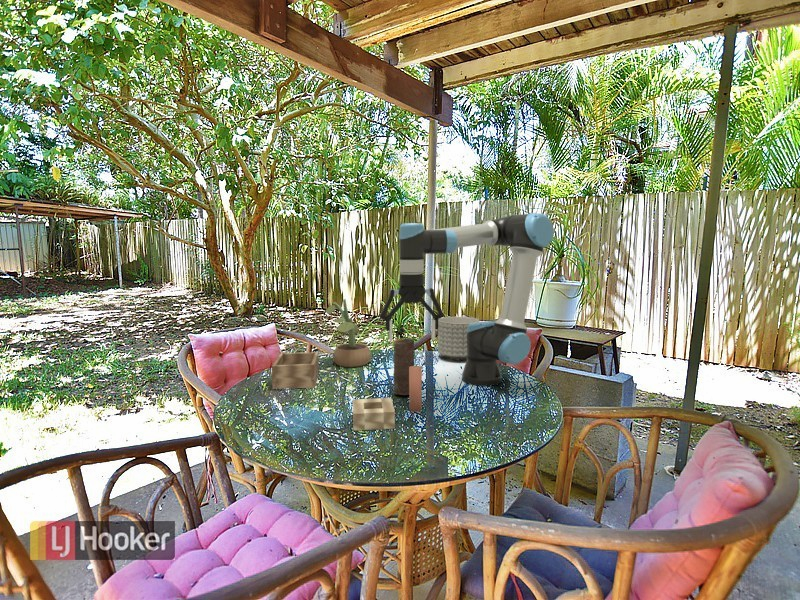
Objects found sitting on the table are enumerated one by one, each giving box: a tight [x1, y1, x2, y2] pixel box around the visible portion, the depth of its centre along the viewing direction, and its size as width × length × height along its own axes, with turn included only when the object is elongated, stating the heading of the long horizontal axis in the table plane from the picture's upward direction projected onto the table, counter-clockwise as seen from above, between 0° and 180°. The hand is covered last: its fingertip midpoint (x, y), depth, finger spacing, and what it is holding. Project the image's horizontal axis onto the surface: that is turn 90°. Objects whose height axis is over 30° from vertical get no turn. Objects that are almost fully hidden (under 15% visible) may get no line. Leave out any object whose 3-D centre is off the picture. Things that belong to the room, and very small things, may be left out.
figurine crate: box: [271, 351, 320, 389], centre depth 175 cm, size 15×19×9 cm
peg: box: [408, 365, 423, 413], centre depth 143 cm, size 4×4×14 cm
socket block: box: [352, 397, 396, 431], centre depth 134 cm, size 12×12×5 cm
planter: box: [437, 316, 480, 361], centre depth 208 cm, size 19×19×18 cm
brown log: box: [393, 338, 415, 396], centre depth 157 cm, size 8×7×20 cm
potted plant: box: [325, 298, 372, 368], centre depth 197 cm, size 22×18×30 cm
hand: (412, 340), depth 142 cm, fingers open, 13 cm apart
